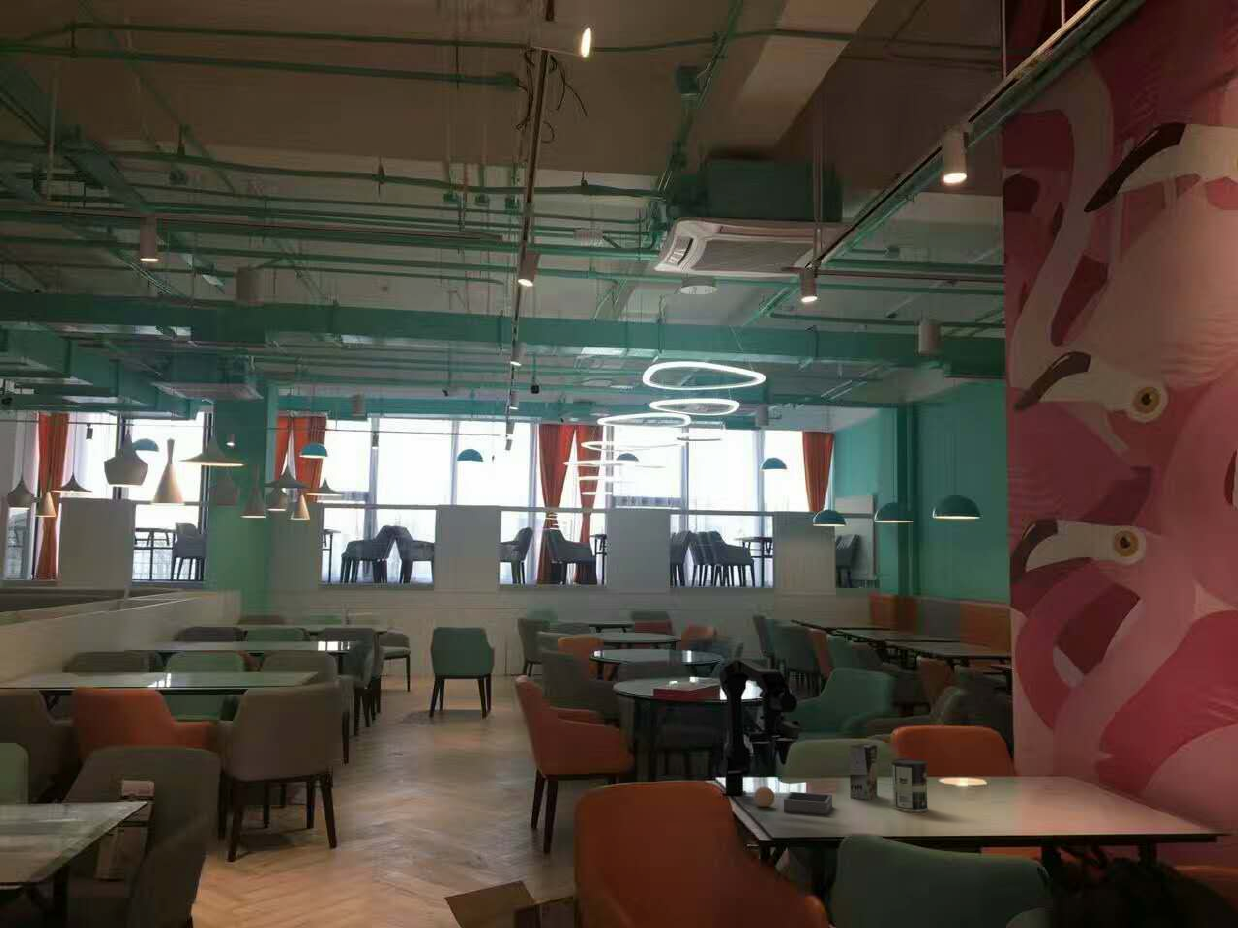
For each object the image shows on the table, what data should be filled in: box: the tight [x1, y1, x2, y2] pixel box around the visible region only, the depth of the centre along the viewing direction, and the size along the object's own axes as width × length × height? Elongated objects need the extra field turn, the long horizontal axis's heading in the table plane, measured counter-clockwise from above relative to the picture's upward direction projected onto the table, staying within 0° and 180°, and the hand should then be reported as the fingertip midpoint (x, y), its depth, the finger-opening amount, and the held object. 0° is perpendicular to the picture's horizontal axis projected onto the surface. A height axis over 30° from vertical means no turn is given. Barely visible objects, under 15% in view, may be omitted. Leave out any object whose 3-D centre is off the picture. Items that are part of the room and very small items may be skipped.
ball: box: [754, 786, 775, 808], centre depth 308 cm, size 6×6×6 cm
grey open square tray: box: [783, 791, 833, 816], centre depth 305 cm, size 13×13×4 cm
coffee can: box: [891, 758, 928, 813], centre depth 309 cm, size 10×10×14 cm
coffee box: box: [849, 743, 878, 800], centre depth 326 cm, size 9×6×16 cm
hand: (775, 765), depth 303 cm, fingers open, 9 cm apart
